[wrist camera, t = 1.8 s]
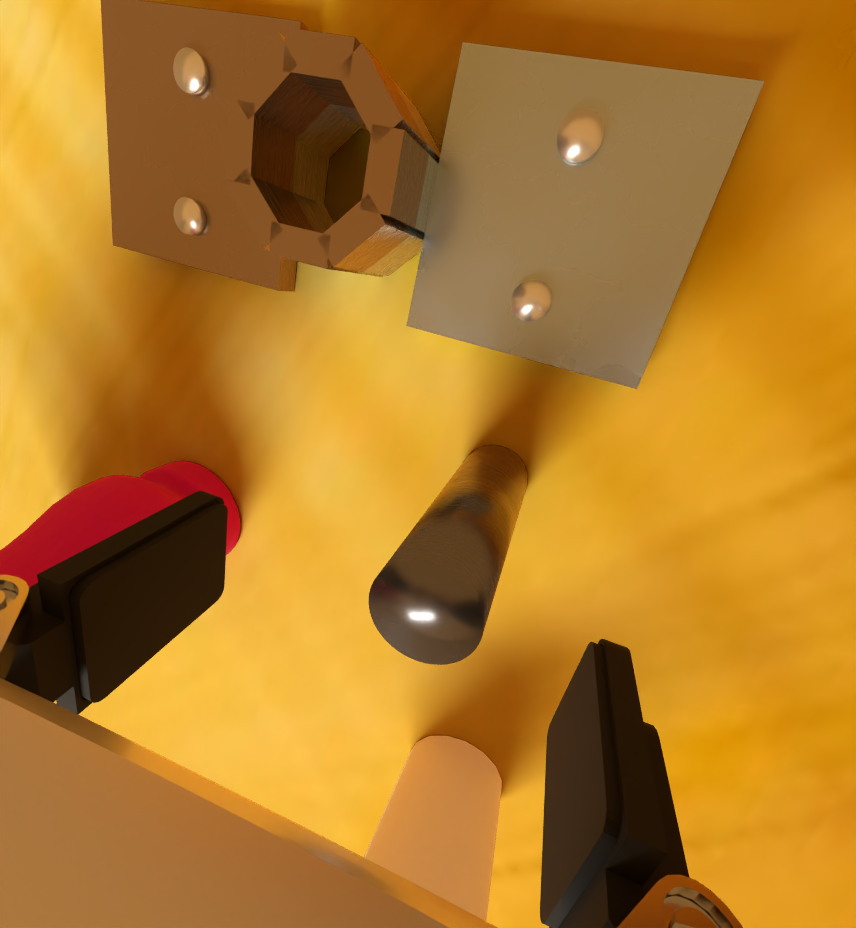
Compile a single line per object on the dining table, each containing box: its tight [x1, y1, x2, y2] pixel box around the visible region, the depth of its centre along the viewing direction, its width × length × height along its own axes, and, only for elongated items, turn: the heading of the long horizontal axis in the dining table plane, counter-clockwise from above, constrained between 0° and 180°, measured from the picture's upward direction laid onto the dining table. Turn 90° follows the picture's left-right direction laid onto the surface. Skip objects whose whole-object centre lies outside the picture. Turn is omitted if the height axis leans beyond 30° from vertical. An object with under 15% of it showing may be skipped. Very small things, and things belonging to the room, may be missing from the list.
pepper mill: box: [0, 461, 240, 587], centre depth 18 cm, size 7×7×20 cm
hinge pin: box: [369, 445, 528, 665], centre depth 16 cm, size 3×3×10 cm
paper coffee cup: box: [364, 736, 502, 921], centre depth 22 cm, size 7×7×10 cm
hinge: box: [101, 0, 765, 389], centre depth 16 cm, size 24×9×5 cm, turn 77°
